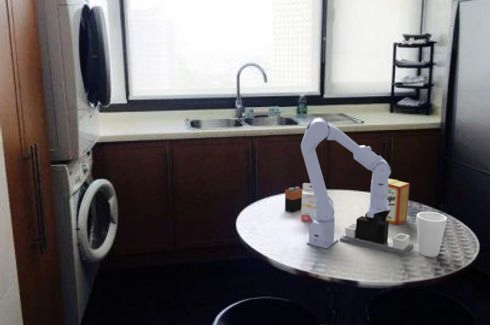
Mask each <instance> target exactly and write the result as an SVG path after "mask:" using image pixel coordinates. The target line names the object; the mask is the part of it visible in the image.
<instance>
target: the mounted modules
mask: <svg viewBox="0 0 490 325" xmlns="http://www.w3.org/2000/svg"><path fill="white" fill-rule="evenodd" d="M344 230H345V234H344V235H346V236H350V237H356V222H355V223H354V222H351V223H350V224H348V225H347V226H346V227H345V229H344ZM392 239H393V247H395V248H400V249H404V248H405V247H406V246H407V245H408V244H409V243H410V235H409V234H405V233H398V234H396V235H395V236H394V237H393V238H392Z"/></svg>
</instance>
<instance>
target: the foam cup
mask: <svg viewBox="0 0 490 325" xmlns="http://www.w3.org/2000/svg"><path fill="white" fill-rule="evenodd" d="M415 221H416V228H417V247H418V248H417V249H418V253H419V254H420V255H422V256H425V257H432V258H433V257H437V256H439V254H440V249H441V246H442V243H443V242H442V241H443V237H444V234H445V231H446V226H447V223H448V222H447V221H448V218H447V216H446V215H445V214H443V213H439V212H435V211H422V212H418V213H416V219H415Z"/></svg>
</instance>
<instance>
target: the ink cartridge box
mask: <svg viewBox="0 0 490 325" xmlns="http://www.w3.org/2000/svg"><path fill="white" fill-rule="evenodd" d="M302 189H303V190H302V209H301V210H300V214H301V215H300V218H301V219H300V220H301V222H308V223H310V222H312V223H313V221H314V215H315V214H316V205H315V204H316V201H315V196H314V192H313V189H312V185H311V182H309V183H308V182H304V183H302Z"/></svg>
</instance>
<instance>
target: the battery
mask: <svg viewBox="0 0 490 325" xmlns="http://www.w3.org/2000/svg"><path fill="white" fill-rule="evenodd" d="M302 190H303V188H300V186H295V187H289V188H288V189H285V194H284V196H285V197H284V199H285V200H284V206H285V207H284V211H287V212H289V213H291V214H292V213H295V212H298V211H301V209H302Z"/></svg>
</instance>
